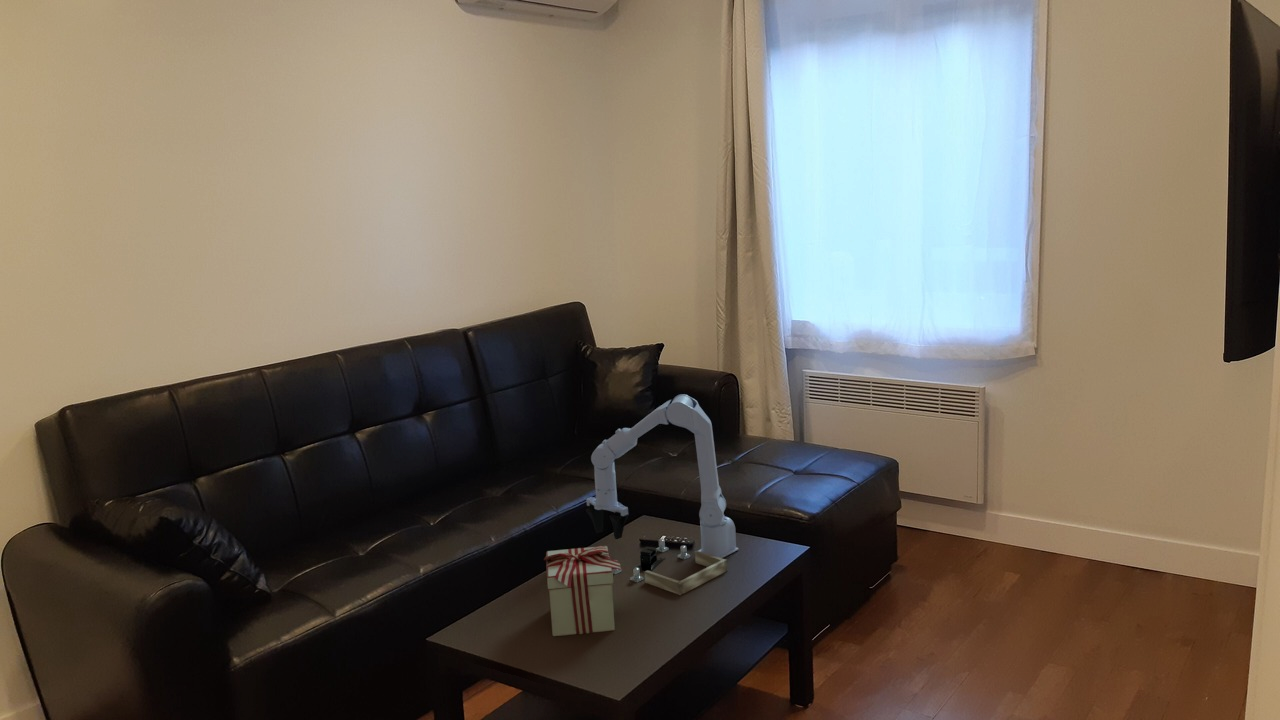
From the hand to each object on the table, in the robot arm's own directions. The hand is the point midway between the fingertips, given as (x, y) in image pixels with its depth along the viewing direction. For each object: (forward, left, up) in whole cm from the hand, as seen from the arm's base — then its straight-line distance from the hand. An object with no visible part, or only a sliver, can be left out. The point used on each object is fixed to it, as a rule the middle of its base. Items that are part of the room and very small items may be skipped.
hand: (608, 534), depth 261 cm
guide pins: (0, +15, -5) cm, 16 cm away
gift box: (+33, +26, -5) cm, 42 cm away
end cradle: (0, +28, -5) cm, 29 cm away
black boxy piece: (0, +15, -6) cm, 16 cm away
